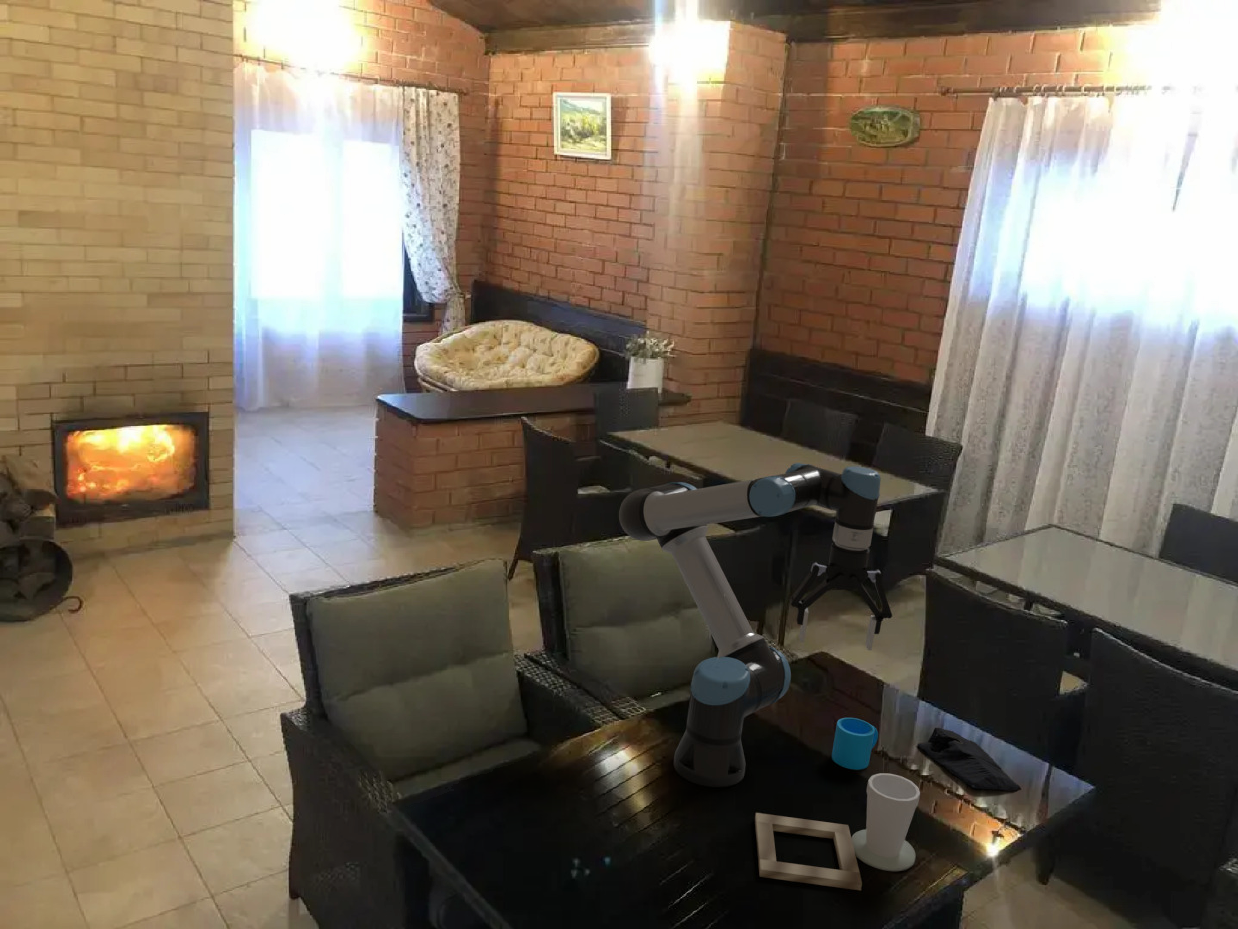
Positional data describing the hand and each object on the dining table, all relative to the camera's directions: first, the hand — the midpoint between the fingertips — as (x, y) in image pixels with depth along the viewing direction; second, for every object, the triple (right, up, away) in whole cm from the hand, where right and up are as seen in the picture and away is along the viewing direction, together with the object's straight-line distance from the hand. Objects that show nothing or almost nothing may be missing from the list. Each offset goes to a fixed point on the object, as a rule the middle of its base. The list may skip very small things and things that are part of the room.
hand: (834, 643), depth 209 cm
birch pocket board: (-9, -36, -17) cm, 41 cm away
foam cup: (+6, -36, -14) cm, 40 cm away
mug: (+9, -29, +20) cm, 36 cm away
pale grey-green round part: (+6, -37, -14) cm, 40 cm away
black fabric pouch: (+34, -32, +21) cm, 51 cm away
